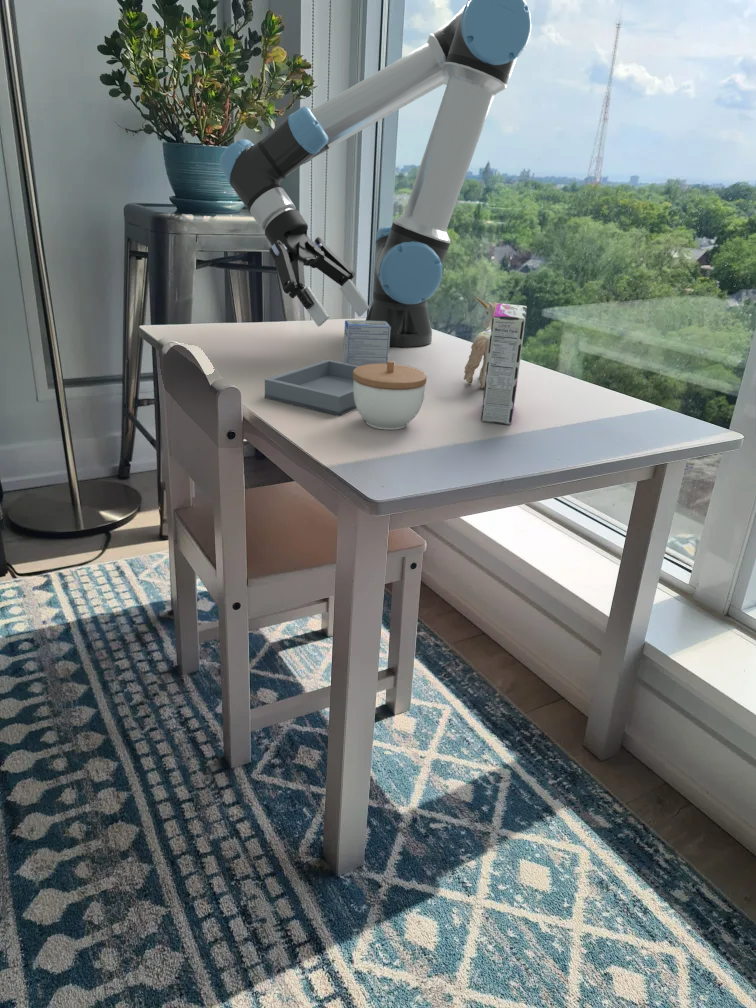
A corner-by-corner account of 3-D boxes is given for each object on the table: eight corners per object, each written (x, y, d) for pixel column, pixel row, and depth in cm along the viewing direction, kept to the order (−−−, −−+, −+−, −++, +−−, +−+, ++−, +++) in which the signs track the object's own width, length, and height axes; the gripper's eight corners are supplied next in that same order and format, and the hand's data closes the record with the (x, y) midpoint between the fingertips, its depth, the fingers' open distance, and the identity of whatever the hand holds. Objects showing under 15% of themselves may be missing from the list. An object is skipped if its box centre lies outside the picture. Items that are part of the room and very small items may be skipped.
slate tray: (327, 375, 136) (327, 359, 135) (395, 391, 130) (397, 373, 129) (264, 397, 122) (264, 379, 121) (338, 416, 116) (339, 396, 115)
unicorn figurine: (504, 369, 149) (514, 299, 143) (503, 397, 131) (514, 318, 126) (467, 366, 150) (475, 296, 144) (461, 392, 132) (470, 314, 127)
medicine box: (383, 366, 145) (386, 320, 142) (387, 372, 141) (391, 325, 138) (342, 365, 144) (344, 319, 140) (345, 372, 140) (347, 324, 136)
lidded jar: (398, 440, 108) (404, 375, 104) (336, 424, 112) (339, 361, 109) (434, 423, 116) (440, 361, 112) (375, 408, 121) (378, 349, 117)
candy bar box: (483, 402, 128) (496, 302, 121) (514, 405, 127) (528, 305, 120) (478, 422, 118) (491, 314, 111) (511, 426, 117) (526, 317, 110)
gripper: (307, 231, 152) (366, 319, 152) (223, 237, 133) (292, 339, 132) (330, 205, 148) (392, 296, 148) (247, 208, 128) (318, 312, 128)
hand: (345, 316), depth 140 cm, fingers open, 13 cm apart
